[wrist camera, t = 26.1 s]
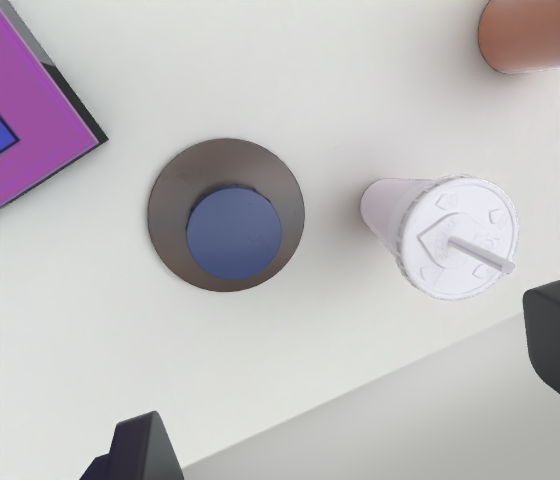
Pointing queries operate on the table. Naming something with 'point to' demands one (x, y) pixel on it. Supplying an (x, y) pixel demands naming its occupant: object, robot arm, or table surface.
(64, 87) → the book
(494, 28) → the jar
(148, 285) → the table surface
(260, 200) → the jar lid
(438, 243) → the smoothie
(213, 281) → the coaster
